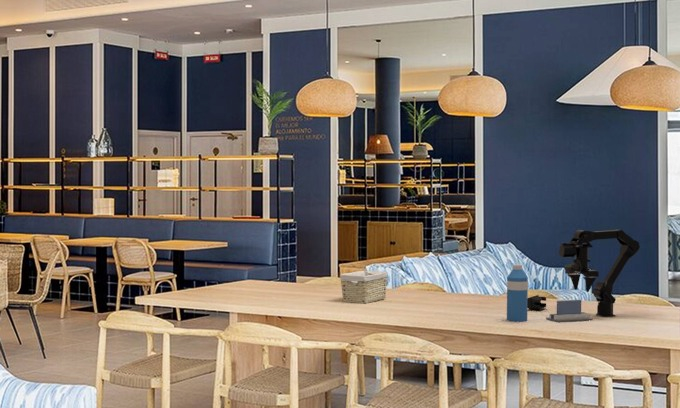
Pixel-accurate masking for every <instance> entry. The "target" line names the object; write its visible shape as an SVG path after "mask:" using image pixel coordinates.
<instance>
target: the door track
mask: <svg viewBox="0 0 680 408" xmlns="http://www.w3.org/2000/svg"><path fill="white" fill-rule="evenodd" d="M548 316H549V317H545V319H546V320H548V321H551V322H554V323H555V322H556V323H571V322H573V323H575V322H589V320H593V318H590V313H589V312H582V311H581V314H564V315H557V313H549V315H548Z"/></svg>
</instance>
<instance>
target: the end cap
mask: <svg viewBox="0 0 680 408" xmlns="http://www.w3.org/2000/svg"><path fill="white" fill-rule="evenodd" d="M542 301H543V302H542ZM545 301H547V297H546V296H540V295H539V294H538V295H534V296H530V297H528V300H527V310H529V311H531V312H542V311H545V310H547V309H546V307H547V303H546V302H545Z"/></svg>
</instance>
